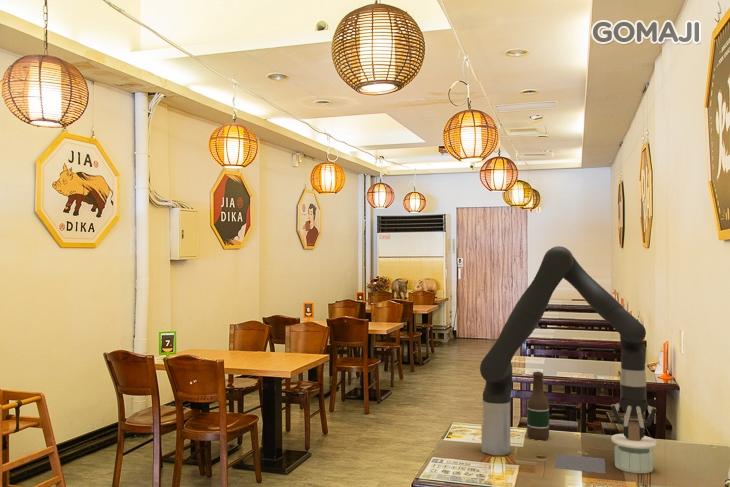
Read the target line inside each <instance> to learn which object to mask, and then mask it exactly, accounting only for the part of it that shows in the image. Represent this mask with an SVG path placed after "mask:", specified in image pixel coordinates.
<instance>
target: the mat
mask: <svg viewBox="0 0 730 487" xmlns="http://www.w3.org/2000/svg"><path fill="white" fill-rule="evenodd" d="M605 461H606V460H605V458H601V457H593V456H589V457H588V456H584V455H583V456H582V455H571V454H563V453H562V454H561V453H556V457H555V461H554V469H560V470H562V469H563V470H567V471H579V472H588V473H594V474H595V473H598V474H606V462H605Z"/></svg>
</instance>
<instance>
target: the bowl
mask: <svg viewBox="0 0 730 487" xmlns="http://www.w3.org/2000/svg"><path fill="white" fill-rule="evenodd" d="M614 466H615V468H617V469H618V470H621V471H623V472H627V473H633V474H647V473H648V474H649V473H651V472H653V471H654V450H653V448H648V449H637V448H629V447H624V446H620V445H617V444H615V445H614Z"/></svg>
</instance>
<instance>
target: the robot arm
mask: <svg viewBox="0 0 730 487" xmlns="http://www.w3.org/2000/svg"><path fill="white" fill-rule="evenodd" d="M563 279H564V280H565V281H566V282H568V283H569V284H570V285H571V286H572V287H573V288H574V289H575V290H576V291H577V292H578V293H579V295H580V296H581V297H582V298H583V299H584V300H585V302H586V303H587V304H588V305H589V306H590V307H591V308H592V309H593V310H594V311H595V312H596V313H597V314H598V315H599V316H600V317H601V318H602V319H603V320H605V322H606V323H608V324H609V325H611V327H613V329H614V330H615V331H616V332H617V333H618V334H619V340H620V349H621V350H620V351H621V352H620V353H621V354H620V375H619V377H620V378H619V384H620V386H619V387H620V390H619V391H620V393H619V395H620V398H619V401H618V402H617V403H615V404H614V403H611V405H610V409H611V411H612V413H613V415H614V417H615V419H616V422H617V424H619V425H622V427H623V433H622V434H624V436H626V438H628V422H630V421H629V420H630V417H637V418H638V423H639V435H640V440H642V438H643V437H644V436H645V428H646V427H650V426H651V425H652V423H653V420H654V419H655V416H656V414H657V413H658V412H657V411H658V410H657V408H656V407H653V406H650V405H649V403H648V401H647V374H646V356H645V352H644V339H645V338H646V334H647V331H646V328H645V326H644V324H642V322H640V321H639V320H638V319H636V317H634V316H633V315H632V314H631V313H629V312H628V311H627V310H626V309H625V307H624V306H623V305H622V304H621V303H620V302H619V301H618V300H617V299H616V298H615V297H614V296H612V295H611V293H609V291H607V290H606V289H605V288H604V287H603V286H601V284H599V283H598V282H597V281H596V280H595V279H594V278H592V276H591V275H590V274H589V273H587V272H586V271H585V269H584V268H583V267H582V266H581V264H579V262H578V261H577V259H576V258H575V257H574V255H573V253H572V251H571V250H569V249H568V248H566V247H564V246H559V245H557V246H553V247H551V248H550V249H548V250H547V251H546V252H545V254H544V256H543V257H542V261H541V262H540V266H539V268H538V270H537V272H536V274H535V276H534V278H533V280H532V282H531V283H530V285H528V287H527V288H526V290H524V292H523V294H521V296H520V297H519V299H518V301H517V302H516V303H515V306H514V307H513V309H512V311H511V312H510V314H509V315H508V318H507V320H506V322H505V324H504V325H503V328H502V329H501V332H500V334H499V335H498V337H497V339H496V341H495V343H494V344H493V345H492V346H491V348H490V350H489V351H488V353H486V354H485V356H484V357H483V359H482V360H481V362H480V367H479V372H480V375H481V377H482V379H484V381H485V385H484V390H483V391H482V423H481V453H484V454H488V455H491V456H506V455H507V456H508V455H510V453H511V395H512V391H513V364H512V360H513V358H514V356H515V354H516V353H517V351H518V350H519V348H521V347H522V345H523V344H524V343H525V342H526V341H527V340H528V338H530V336H531V335H532V333H533V332H534V331H535V330H536V328H537V326H538V324H539V323H540V322H541V319H542V318H543V316H544V315H545V312H546V311H547V308H548V305H549V303H550V300H551V297H552V295H553V294H554V292H555V290H556V288H557V287H558V286H559V284H560V283H561V281H563ZM620 408H621V410H622V411H623V412H624V418H623V419H622V418H621V417H620V414H619V411H620ZM646 411H648V416H647V417H646V421H644V419H643V414H644V413H645V412H646Z"/></svg>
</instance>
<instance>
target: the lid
mask: <svg viewBox="0 0 730 487" xmlns="http://www.w3.org/2000/svg"><path fill="white" fill-rule="evenodd" d="M611 442H612V444H615V445H620V446H624V447H629V448H637V449H648V448H650V449H653V448H656V447H657V440H656V439H654V438H653V437H649V436H646V435H644V437H643V438H642V440H640V435H639V421H637V422H636V421H628V438H626V436H624V434H623V433H616V434H613V435H611Z"/></svg>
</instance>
